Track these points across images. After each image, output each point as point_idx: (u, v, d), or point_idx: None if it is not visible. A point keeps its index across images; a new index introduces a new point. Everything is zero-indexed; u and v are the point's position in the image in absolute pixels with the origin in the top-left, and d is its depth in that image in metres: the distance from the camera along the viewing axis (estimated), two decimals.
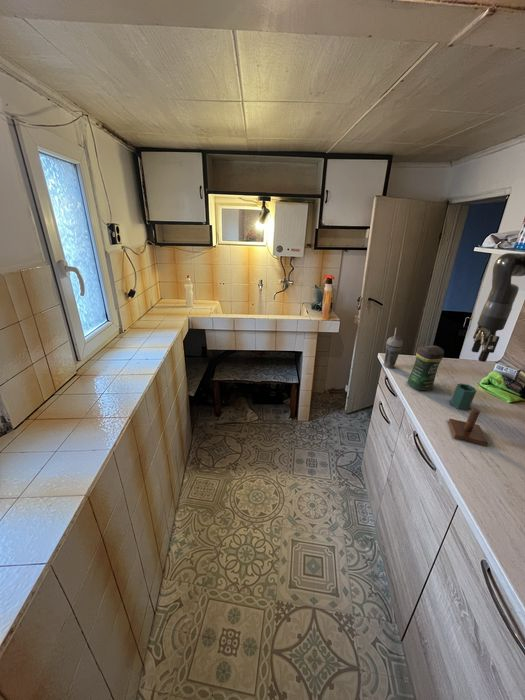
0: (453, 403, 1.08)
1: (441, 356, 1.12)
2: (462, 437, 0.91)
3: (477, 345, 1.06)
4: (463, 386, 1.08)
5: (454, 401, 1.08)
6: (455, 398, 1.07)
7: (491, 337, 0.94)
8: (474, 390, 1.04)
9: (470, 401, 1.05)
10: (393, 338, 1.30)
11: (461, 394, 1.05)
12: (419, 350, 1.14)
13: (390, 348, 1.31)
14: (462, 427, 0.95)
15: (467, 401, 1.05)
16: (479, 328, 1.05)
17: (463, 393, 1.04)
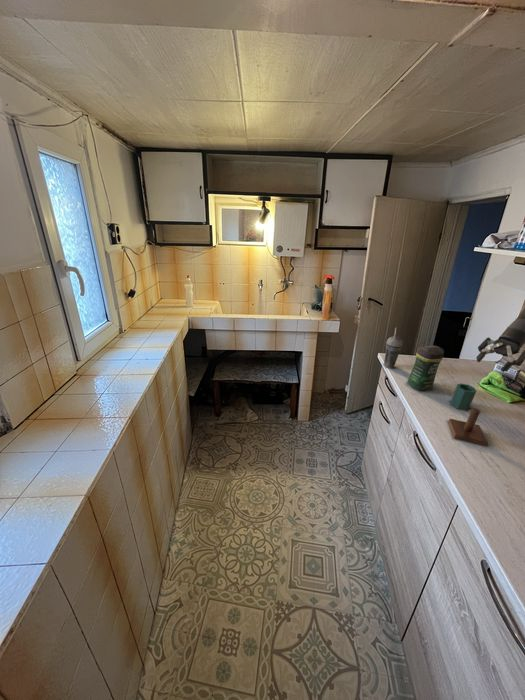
0: (453, 403, 1.08)
1: (441, 356, 1.12)
2: (462, 437, 0.91)
3: (483, 356, 1.11)
4: (463, 386, 1.08)
5: (454, 401, 1.08)
6: (455, 398, 1.07)
7: None
8: (474, 390, 1.04)
9: (470, 401, 1.05)
10: (393, 338, 1.30)
11: (461, 394, 1.05)
12: (419, 350, 1.14)
13: (390, 348, 1.31)
14: (462, 427, 0.95)
15: (467, 401, 1.05)
16: (489, 341, 1.11)
17: (463, 393, 1.04)
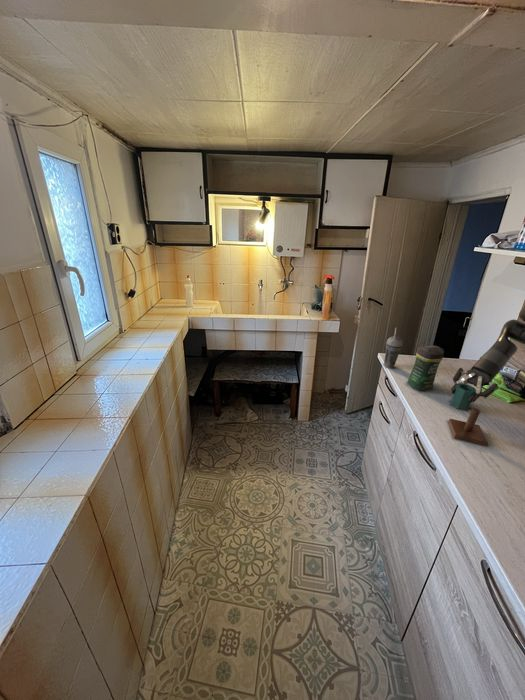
0: (453, 403, 1.08)
1: (441, 356, 1.12)
2: (462, 437, 0.91)
3: None
4: (463, 386, 1.08)
5: (454, 401, 1.08)
6: (455, 398, 1.07)
7: (496, 385, 1.01)
8: (474, 390, 1.04)
9: None
10: (393, 338, 1.30)
11: (461, 394, 1.05)
12: (419, 350, 1.14)
13: (390, 348, 1.31)
14: (462, 427, 0.95)
15: (467, 401, 1.05)
16: (462, 371, 1.10)
17: (463, 393, 1.04)
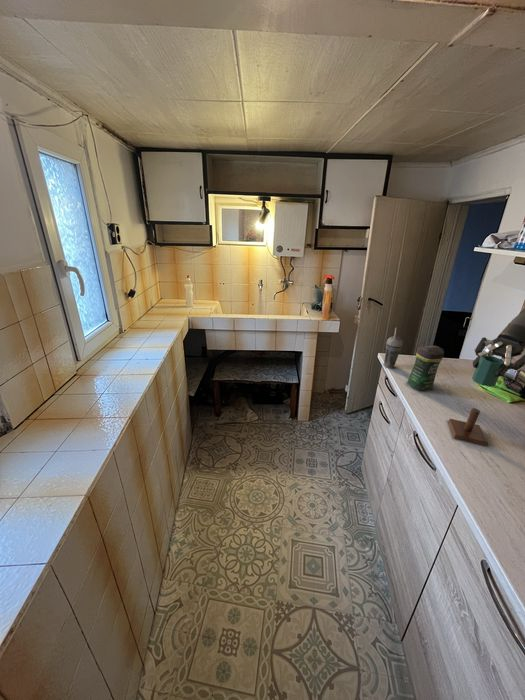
0: (476, 379, 0.90)
1: (441, 356, 1.12)
2: (462, 437, 0.91)
3: None
4: (488, 358, 0.90)
5: (477, 376, 0.89)
6: (478, 373, 0.89)
7: None
8: (502, 362, 0.86)
9: None
10: (393, 338, 1.30)
11: (486, 367, 0.87)
12: (419, 350, 1.14)
13: (390, 348, 1.31)
14: (462, 427, 0.95)
15: (494, 375, 0.86)
16: (485, 341, 0.92)
17: (489, 366, 0.86)
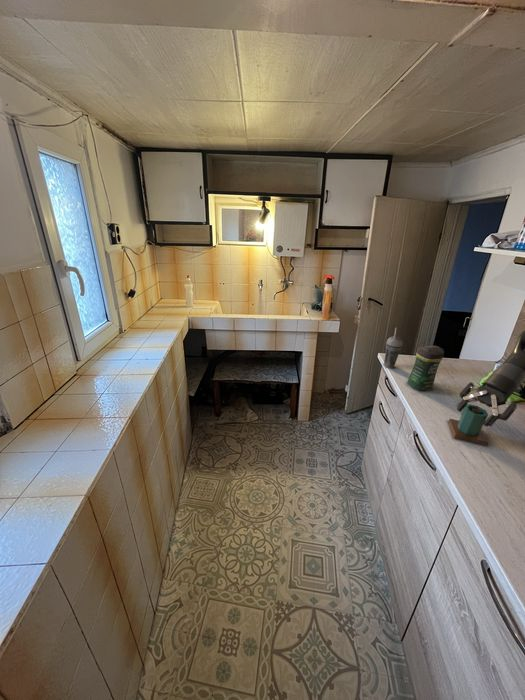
0: (460, 427, 0.93)
1: (441, 356, 1.12)
2: (462, 437, 0.91)
3: (464, 404, 0.94)
4: None
5: (462, 425, 0.92)
6: (463, 422, 0.92)
7: (515, 405, 0.85)
8: (485, 413, 0.89)
9: (480, 426, 0.90)
10: (393, 338, 1.30)
11: (470, 418, 0.90)
12: (419, 350, 1.14)
13: (390, 348, 1.31)
14: None
15: (477, 426, 0.89)
16: (471, 387, 0.95)
17: (473, 417, 0.89)
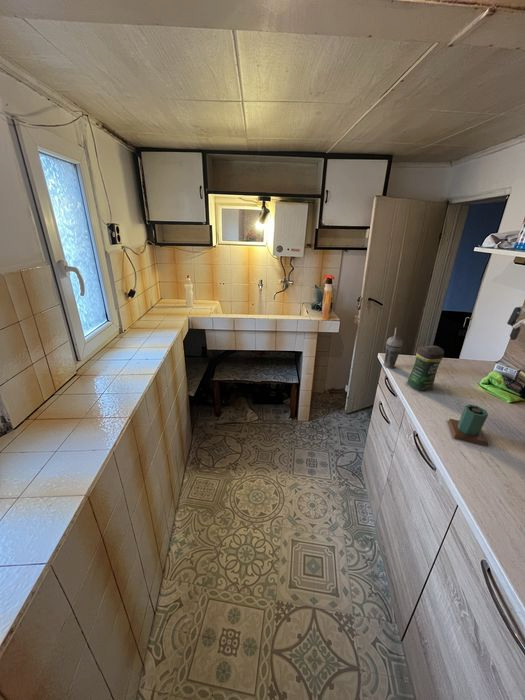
0: (460, 427, 0.93)
1: (441, 356, 1.12)
2: (462, 437, 0.91)
3: (517, 332, 0.91)
4: None
5: (462, 425, 0.92)
6: (463, 422, 0.92)
7: None
8: (485, 413, 0.89)
9: (480, 426, 0.90)
10: (393, 338, 1.30)
11: (470, 418, 0.90)
12: (419, 350, 1.14)
13: (390, 348, 1.31)
14: None
15: (477, 426, 0.89)
16: (518, 312, 0.89)
17: (473, 417, 0.89)
